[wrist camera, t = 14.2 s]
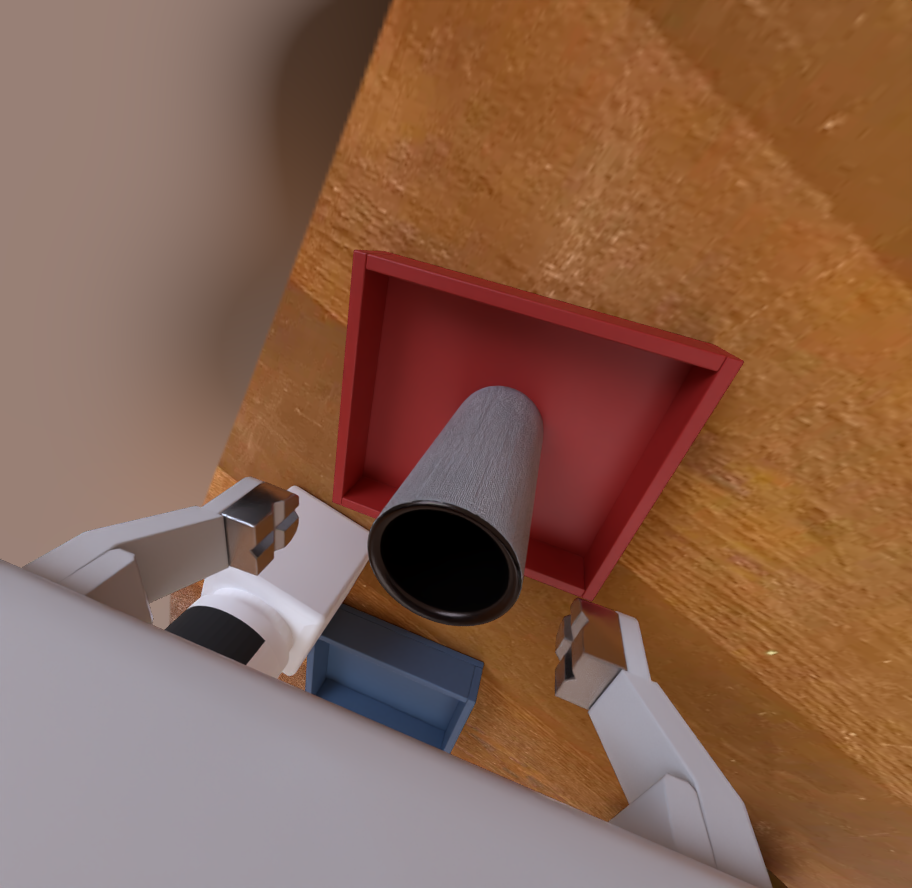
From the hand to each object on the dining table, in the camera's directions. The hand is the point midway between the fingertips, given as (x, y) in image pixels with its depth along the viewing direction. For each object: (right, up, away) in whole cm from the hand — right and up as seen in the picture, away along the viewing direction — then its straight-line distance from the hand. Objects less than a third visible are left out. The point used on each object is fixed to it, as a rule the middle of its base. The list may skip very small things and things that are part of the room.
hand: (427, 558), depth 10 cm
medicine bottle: (-9, -4, +17) cm, 20 cm away
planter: (+3, +4, +9) cm, 10 cm away
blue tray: (-5, -16, +22) cm, 27 cm away
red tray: (+3, +4, +9) cm, 11 cm away
